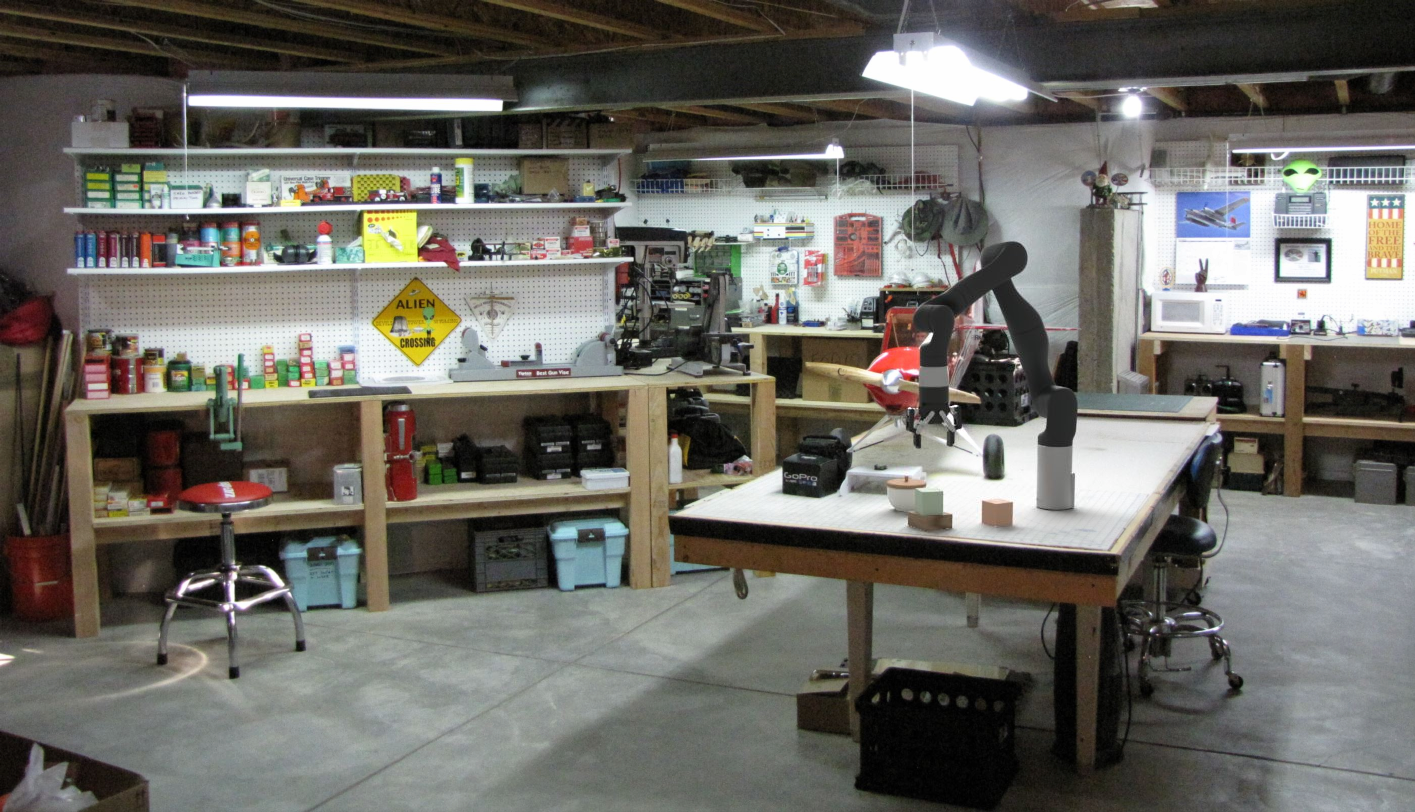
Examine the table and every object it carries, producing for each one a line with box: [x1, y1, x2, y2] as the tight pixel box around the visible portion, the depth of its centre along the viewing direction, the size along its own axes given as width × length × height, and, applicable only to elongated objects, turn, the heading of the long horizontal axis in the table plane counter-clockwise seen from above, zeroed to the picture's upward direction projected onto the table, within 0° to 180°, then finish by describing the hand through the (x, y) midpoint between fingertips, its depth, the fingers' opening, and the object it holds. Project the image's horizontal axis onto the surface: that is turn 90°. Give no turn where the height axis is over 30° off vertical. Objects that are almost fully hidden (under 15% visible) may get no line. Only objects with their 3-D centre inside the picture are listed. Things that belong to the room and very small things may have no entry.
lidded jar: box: [886, 475, 927, 513], centre depth 334 cm, size 11×11×9 cm
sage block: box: [915, 486, 944, 516], centre depth 312 cm, size 6×6×6 cm
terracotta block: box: [981, 498, 1014, 527], centre depth 315 cm, size 6×6×6 cm
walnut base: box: [907, 511, 953, 532], centre depth 313 cm, size 8×8×4 cm
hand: (933, 447), depth 312 cm, fingers open, 8 cm apart
